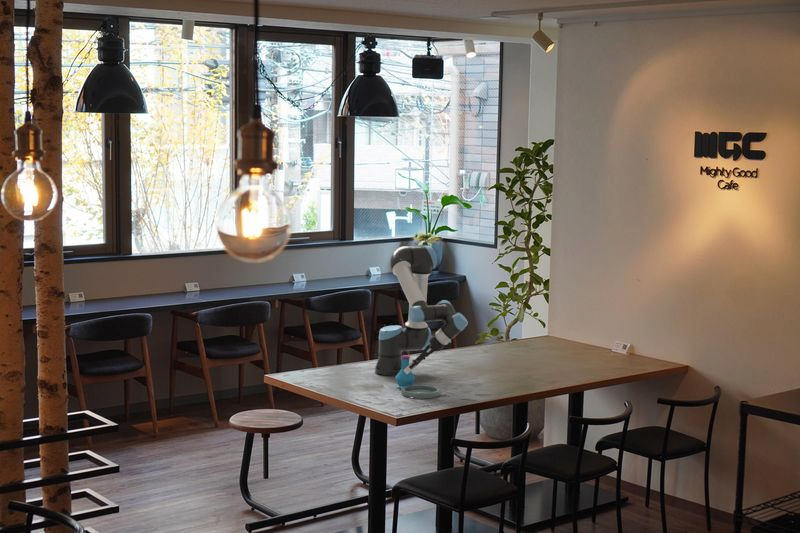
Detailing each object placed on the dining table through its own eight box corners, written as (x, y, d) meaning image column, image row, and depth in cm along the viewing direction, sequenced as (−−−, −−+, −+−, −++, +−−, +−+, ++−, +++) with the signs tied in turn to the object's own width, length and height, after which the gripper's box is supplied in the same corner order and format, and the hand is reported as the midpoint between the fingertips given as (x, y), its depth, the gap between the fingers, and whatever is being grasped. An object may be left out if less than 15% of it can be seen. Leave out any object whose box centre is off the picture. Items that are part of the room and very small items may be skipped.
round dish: (398, 397, 469) (398, 392, 468) (406, 388, 486) (406, 383, 485) (435, 399, 465) (435, 394, 465) (442, 391, 482) (442, 386, 482)
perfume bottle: (408, 390, 483) (408, 358, 481) (391, 387, 488) (392, 356, 486) (418, 386, 491) (418, 355, 489) (401, 383, 495) (402, 353, 494)
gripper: (440, 350, 470) (408, 380, 474) (450, 340, 494) (418, 369, 499) (429, 338, 470) (397, 368, 475) (439, 329, 494) (408, 358, 499)
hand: (408, 369), depth 487 cm, fingers open, 13 cm apart
